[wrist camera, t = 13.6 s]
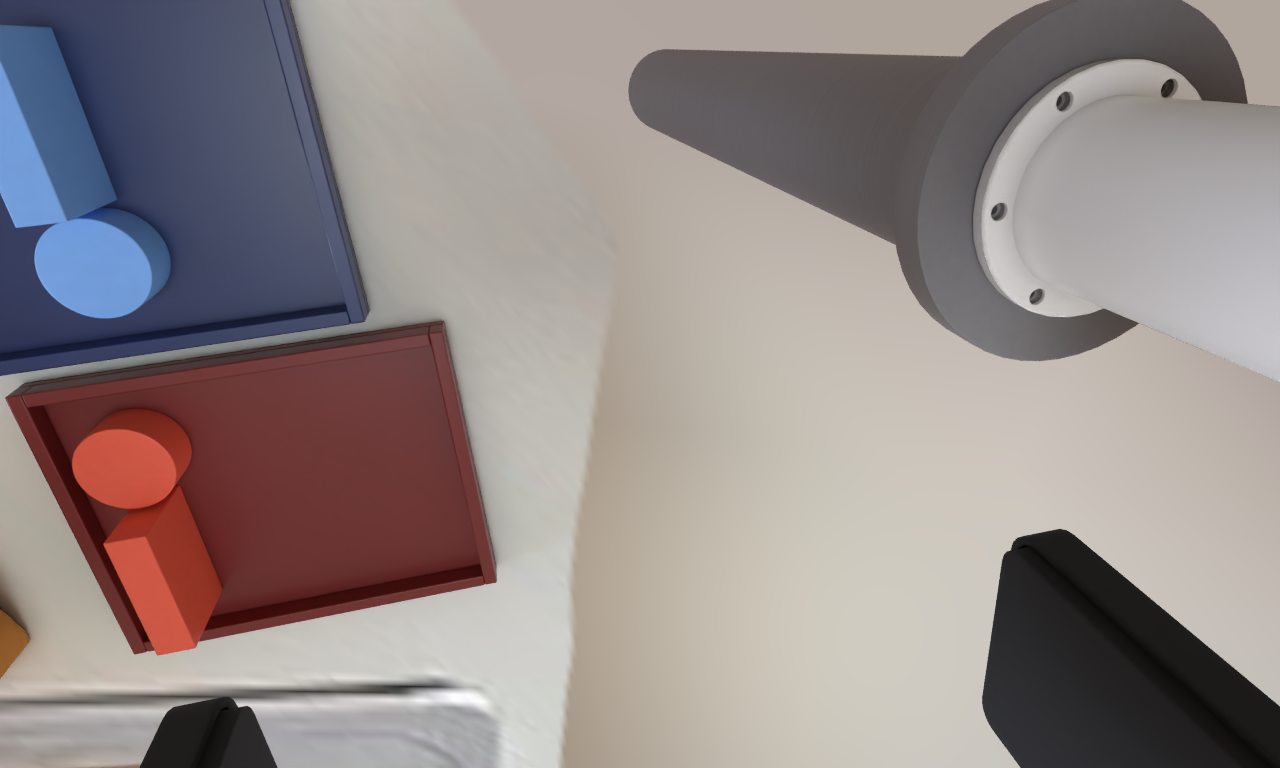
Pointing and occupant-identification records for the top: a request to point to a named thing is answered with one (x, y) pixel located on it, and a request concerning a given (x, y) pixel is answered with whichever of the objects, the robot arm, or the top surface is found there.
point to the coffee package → (10, 641)
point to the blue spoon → (68, 186)
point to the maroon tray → (291, 473)
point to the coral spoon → (151, 523)
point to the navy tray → (192, 180)
